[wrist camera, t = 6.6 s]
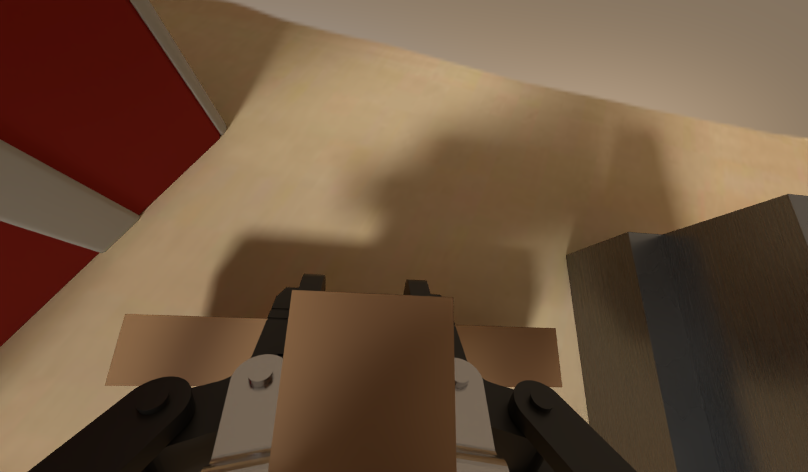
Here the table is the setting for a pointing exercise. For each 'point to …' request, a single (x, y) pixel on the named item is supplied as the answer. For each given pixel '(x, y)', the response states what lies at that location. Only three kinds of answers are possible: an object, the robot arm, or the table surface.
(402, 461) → the wooden t-shaped block
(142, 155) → the red-striped tombstone block
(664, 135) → the table surface
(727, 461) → the gray metal t-shaped block
